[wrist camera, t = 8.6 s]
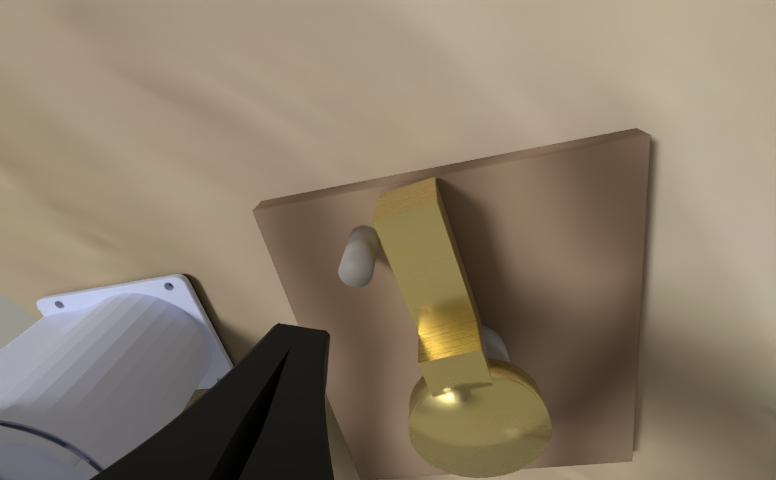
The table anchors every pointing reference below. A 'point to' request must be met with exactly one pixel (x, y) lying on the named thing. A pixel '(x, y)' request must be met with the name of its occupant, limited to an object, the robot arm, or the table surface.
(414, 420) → the door handle
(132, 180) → the table surface
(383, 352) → the base
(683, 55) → the table surface
